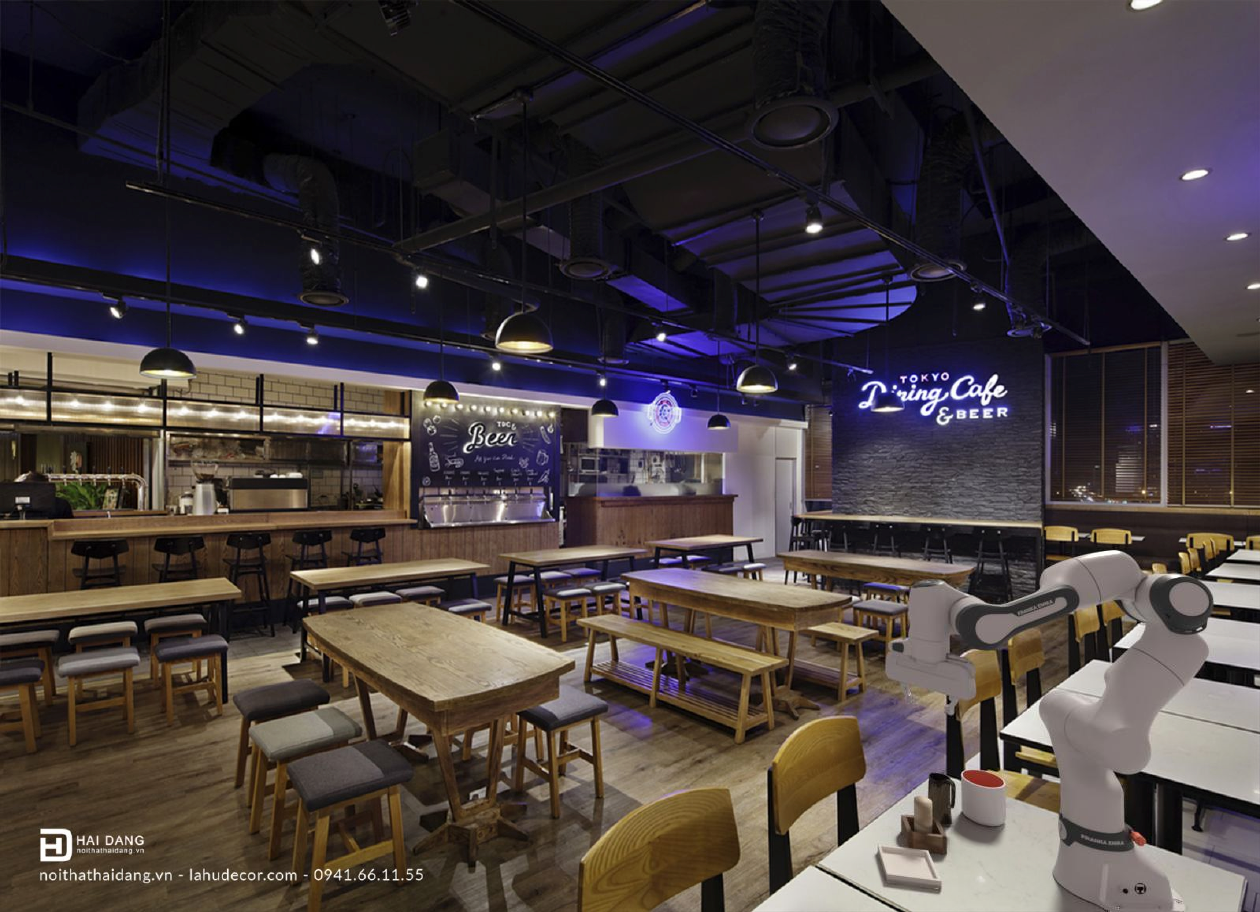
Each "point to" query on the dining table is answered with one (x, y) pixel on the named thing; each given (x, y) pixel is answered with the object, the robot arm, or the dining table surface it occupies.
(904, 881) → the tray
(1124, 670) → the robot arm
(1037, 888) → the dining table surface
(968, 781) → the cup
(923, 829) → the dowel
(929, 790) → the mug
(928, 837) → the holder
